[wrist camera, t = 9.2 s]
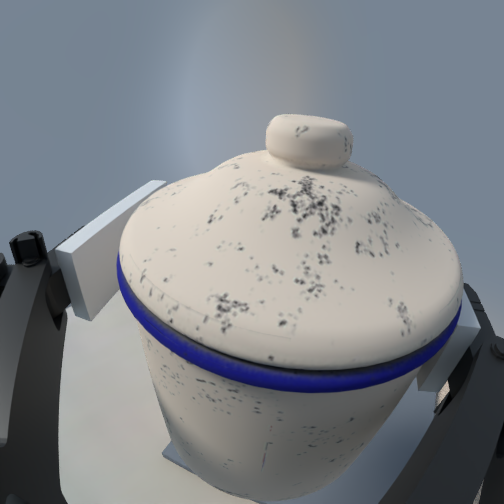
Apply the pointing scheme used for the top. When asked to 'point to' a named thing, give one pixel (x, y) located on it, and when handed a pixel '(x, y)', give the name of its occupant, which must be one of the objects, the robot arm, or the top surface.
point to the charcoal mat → (369, 455)
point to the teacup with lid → (285, 308)
